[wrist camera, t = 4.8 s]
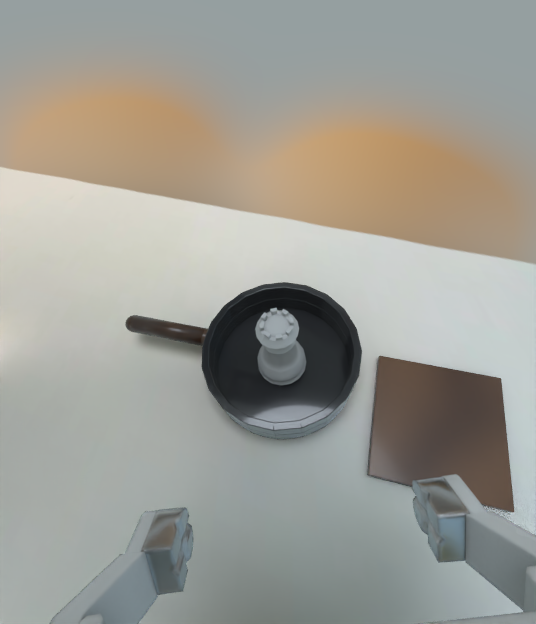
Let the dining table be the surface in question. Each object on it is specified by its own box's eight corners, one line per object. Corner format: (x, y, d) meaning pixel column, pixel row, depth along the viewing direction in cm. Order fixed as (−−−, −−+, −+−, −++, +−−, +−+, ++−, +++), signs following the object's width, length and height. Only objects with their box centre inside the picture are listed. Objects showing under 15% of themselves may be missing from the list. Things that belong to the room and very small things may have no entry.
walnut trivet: (367, 475, 25) (368, 474, 25) (377, 357, 30) (379, 355, 30) (510, 512, 23) (514, 512, 23) (497, 380, 28) (501, 378, 28)
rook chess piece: (281, 397, 29) (274, 363, 22) (248, 363, 31) (233, 323, 24) (316, 363, 30) (320, 322, 23) (282, 333, 32) (277, 286, 25)
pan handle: (127, 333, 31) (119, 325, 30) (134, 319, 32) (127, 310, 31) (212, 350, 30) (208, 343, 28) (218, 335, 30) (214, 327, 29)
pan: (193, 419, 29) (178, 407, 25) (236, 296, 35) (229, 273, 32) (344, 456, 26) (350, 449, 23) (361, 316, 33) (368, 294, 29)
